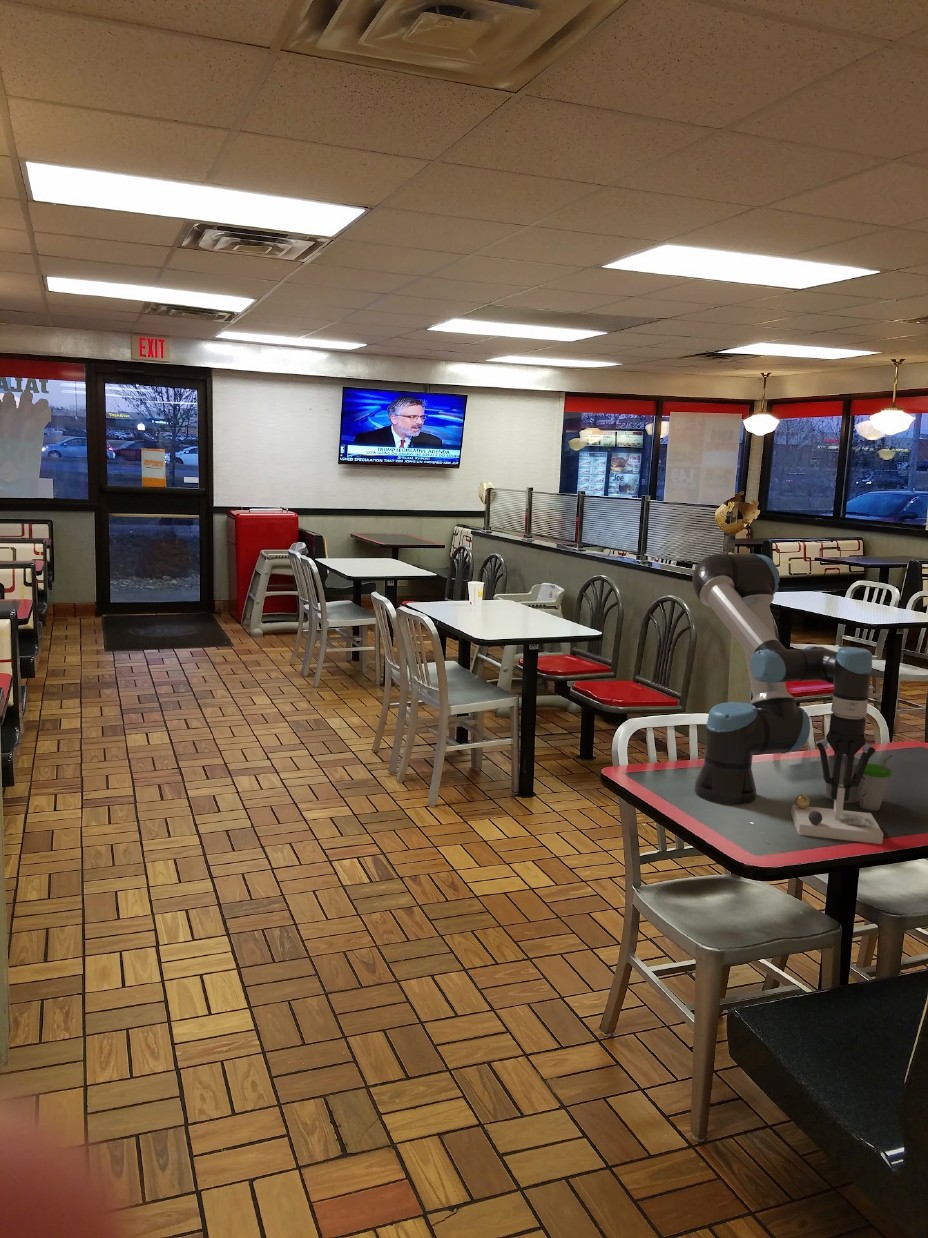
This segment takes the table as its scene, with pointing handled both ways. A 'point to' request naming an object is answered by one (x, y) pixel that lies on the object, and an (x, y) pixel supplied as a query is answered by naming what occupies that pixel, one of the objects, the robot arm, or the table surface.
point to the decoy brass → (802, 801)
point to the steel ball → (853, 820)
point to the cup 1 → (854, 790)
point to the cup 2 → (873, 786)
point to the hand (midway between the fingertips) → (837, 812)
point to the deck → (837, 825)
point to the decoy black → (815, 817)
